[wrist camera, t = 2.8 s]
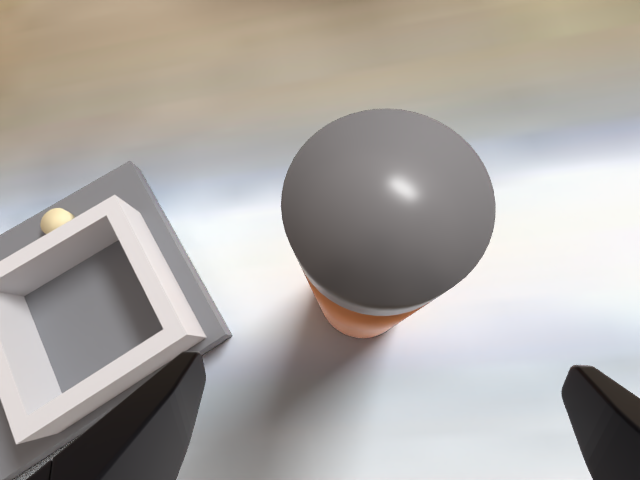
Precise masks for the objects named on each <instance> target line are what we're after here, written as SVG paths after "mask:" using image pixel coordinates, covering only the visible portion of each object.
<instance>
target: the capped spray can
mask: <svg viewBox="0 0 640 480" xmlns="http://www.w3.org/2000/svg"><path fill="white" fill-rule="evenodd" d="M281 210H282V220H283V224H284V228H285V232H286V235H287V237H288V240H289V243H290V245H291V247H292V249H293V251H294V253H295V255H296V257H297V260H298V262H299V264H300V266H301V268H302V270H303V272H304V274H305V276H306V278H307V280H308V282H309V285H310V287H311V289H312V291H313V293H314V295H315V297H316V299H317V301H318V303H319V305H320V308H321V310H322V312H323V314H324V316H325V317H326V319H327V320H328V322H329V323H330V324H331V325H332V326H333V327H334V328H335V329H337V330H338V331H340V332H341V333H343V334H345V335H348V336H351V337H355V338H371V337H375V336H378V335H380V334H382V333H384V332H386V331H387V330H389V329H390V328H392V327H393V326H395V325H396V324H398V323H399V322H401V321H402V320H404V319H405V318H407V317H408V316H410V315H411V314H413V313H414V312H416V311H417V310H419V309H420V308H422V307H423V306H425V305H426V304H428V303H429V302H431V301H433V300H434V299H436V298H437V297H439V296H440V295H442V294H443V293H445V292H446V291H448V290H449V289H451V288H452V287H454V286H455V285H456V284H457V283H459V282H460V281H461V280H462V279H464V278H465V277H466V276H467V275H468V274H469V273H470V272H471V271H472V270H473V269H474V267H475V266H476V265H477V263H478V262H479V260H480V259H481V258H482V256H483V254H484V252H485V250H486V248H487V246H488V244H489V242H490V239H491V235H492V232H493V228H494V222H495V197H494V190H493V187H492V183H491V180H490V177H489V175H488V172H487V170H486V168H485V166H484V164H483V162H482V161H481V159H480V158H479V156H478V155H477V153H476V152H475V151H474V150H473V148H472V147H471V146H470V145H469V144H468V143H467V142H466V141H465V140H464V139H463V138H462V137H461V136H460V135H459V134H457V133H456V132H455V131H453V130H452V129H451V128H449V127H447V126H446V125H444V124H442V123H441V122H439V121H437V120H435V119H432V118H430V117H428V116H425V115H422V114H419V113H415V112H411V111H406V110H399V109H372V110H365V111H360V112H357V113H353V114H349V115H347V116H344V117H342V118H339V119H337V120H335V121H333V122H331V123H329V124H328V125H326V126H325V127H323V128H322V129H320V130H319V131H318V132H316V133H315V134H314V135H313V136H312V137H311V138H310V139H308V141H307V142H306V143H305V144H304V145H303V146H302V147H301V149H300V150H299V151H298V153H297V154H296V156H295V157H294V159H293V161H292V163H291V165H290V167H289V169H288V171H287V174H286V177H285V180H284V185H283V190H282V199H281Z"/></svg>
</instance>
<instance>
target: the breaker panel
mask: <svg viewBox="0 0 640 480" xmlns="http://www.w3.org/2000/svg"><path fill="white" fill-rule="evenodd" d="M231 336H232V334H231V332H230V330H229V329H228V327H227V325H226V323H225V321H224V320H223V318H222V316H221V314H220V312H219V311H218V309H217V307H216V305H215V303H214V302H213V300H212V298H211V296H210V294H209V293H208V291H207V289H206V287H205V285H204V284H203V282H202V280H201V278H200V276H199V275H198V273H197V271H196V269H195V267H194V266H193V264H192V262H191V260H190V258H189V257H188V255H187V253H186V251H185V250H184V248H183V246H182V244H181V242H180V241H179V239H178V237H177V235H176V233H175V232H174V230H173V228H172V226H171V224H170V223H169V221H168V219H167V217H166V215H165V214H164V212H163V210H162V208H161V206H160V205H159V203H158V201H157V199H156V197H155V196H154V194H153V192H152V190H151V188H150V187H149V185H148V183H147V181H146V179H145V178H144V176H143V174H142V172H141V170H140V169H139V168H138V167H136V166H135V165H134V164H133V163H132V162H131V161H128V162H127V163H125V164H123V165H121V166H120V167H118V168H116V169H115V170H113V171H111V172H109V173H108V174H106V175H104V176H102V177H101V178H99V179H97V180H95V181H94V182H92V183H90V184H88V185H87V186H85V187H83V188H81V189H80V190H78V191H76V192H74V193H73V194H71V195H69V196H67V197H66V198H64V199H62V200H60V201H59V202H57V203H55V204H54V205H52V206H50V207H48V208H47V209H45V210H43V211H41V212H40V213H38V214H36V215H34V216H33V217H31V218H29V219H27V220H26V221H24V222H22V223H20V224H19V225H17V226H15V227H13V228H12V229H10V230H8V231H6V232H5V233H3V234H1V235H0V480H12V479H14V478H15V477H17V476H18V475H20V474H21V473H23V472H24V471H26V470H27V469H29V468H30V467H32V466H33V465H35V464H37V463H38V462H40V461H41V460H43V459H44V458H46V457H47V456H49V455H50V454H52V453H53V452H55V451H56V450H58V449H59V448H61V447H63V446H64V445H66V444H67V443H69V442H70V441H72V440H73V439H75V438H76V437H78V436H79V435H81V434H82V433H84V432H85V431H86V430H88V429H89V428H90V427H91V426H92V425H94V424H95V423H96V422H97V421H98V420H100V419H101V418H102V417H103V416H105V415H106V414H107V413H108V412H109V411H111V410H112V409H113V408H114V407H116V406H117V405H118V404H119V403H120V402H122V401H123V400H124V399H125V398H126V397H128V396H129V395H130V394H131V393H133V392H134V391H135V390H136V389H137V388H139V387H140V386H141V385H142V384H144V383H145V382H146V381H147V380H148V379H150V378H151V377H152V376H153V375H154V374H156V373H157V372H158V371H159V370H161V369H162V368H163V367H164V366H165V365H167V364H168V363H169V362H170V361H172V360H173V359H174V358H175V357H176V356H178V355H179V354H180V353H181V352H183V351H198V352H200V354H201V356H202V355H203V354H205V353H206V352H208V351H209V350H211V349H213V348H214V347H216V346H217V345H219V344H220V343H222V342H223V341H225V340H226V339H228V338H229V337H231Z"/></svg>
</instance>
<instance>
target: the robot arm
mask: <svg viewBox="0 0 640 480" xmlns="http://www.w3.org/2000/svg"><path fill="white" fill-rule="evenodd" d="M205 381H206V374H205V369H204V365H203V360H202V356H201V354H200V352H198V351H183V352H181V353H180V354H179V355H178V356H176V357H175V358H174V359H173V360H172V361H170V362H169V363H168V364H167V365H165V366H164V367H163V368H162V369H161V370H159V371H158V372H157V373H156V374H154V375H153V376H152V377H151V378H150V379H148V380H147V381H146V382H145V383H144V384H142V385H141V386H140V387H139V388H137V389H136V390H135V391H134V392H133V393H131V394H130V395H129V396H128V397H126V398H125V399H124V400H123V401H122V402H120V403H119V404H118V405H117V406H116V407H114V408H113V409H112V410H111V411H109V412H108V413H107V414H106V415H105V416H103V417H102V418H101V419H100V420H98V421H97V422H96V423H95V424H94V425H92V426H91V427H90V428H89V429H88V430H86V431H85V432H84V433H83V434H81V435H80V436H79V437H78V438H77V439H75V440H74V441H73V442H72V443H70V444H69V445H68V446H67V447H66V448H64V449H63V450H62V451H61V452H60V453H58V454H57V455H56V456H55V457H54V458H53V460H52V461H48V462H47V463H46V464H45V465H43V466H42V467H41V468H40V469H39V470H37V471H36V472H35V473H34V474H33V475H31V476H30V477H29V478H28V479H26V480H176V478H177V476H178V473H179V470H180V468H181V465H182V462H183V460H184V457H185V454H186V452H187V449H188V446H189V443H190V439H191V436H192V432H193V428H194V425H195V421H196V417H197V413H198V409H199V405H200V401H201V398H202V394H203V390H204V386H205ZM562 399H563V402H564V405H565V408H566V410H567V413H568V416H569V419H570V422H571V424H572V427H573V430H574V433H575V436H576V438H577V441H578V444H579V447H580V450H581V452H582V455H583V458H584V460H585V463H586V465H587V467H588V470H589V472H590V474H591V476H592V478H593V480H640V398H638V397H637V396H635V395H634V394H633V393H631V392H630V391H628V390H627V389H625V388H624V387H622V386H621V385H619V384H618V383H617V382H615V381H614V380H612V379H611V378H609V377H608V376H606V375H605V374H604V373H602V372H601V371H599V370H598V369H596V368H595V367H593V366H588V365H573V366H572V367H571V368H570V370H569V372H568V375H567V377H566V380H565V382H564V385H563V387H562Z"/></svg>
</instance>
